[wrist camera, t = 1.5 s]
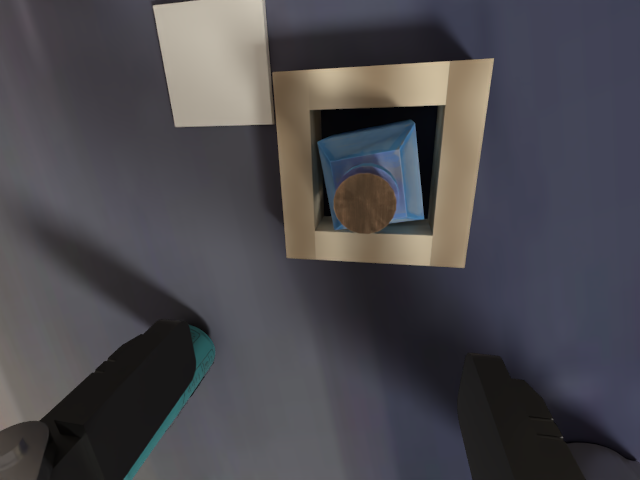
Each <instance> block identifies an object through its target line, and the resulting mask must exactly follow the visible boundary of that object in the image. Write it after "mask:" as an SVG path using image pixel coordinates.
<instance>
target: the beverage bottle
mask: <svg viewBox="0 0 640 480" xmlns="http://www.w3.org/2000/svg"><path fill="white" fill-rule="evenodd" d="M189 327H190V332H191V337H192V342H193V347H194V352H195V357H196V371H195V375H194V377H193V380H192V382H191V383H190V385H189V386H188V388H187V389H186V390H185V392H184V393H183V395H182V396H181V398H180V399H179V401H178V402H177V403H176V405H175V406H174V408H173V409H172V411H171V412H170V413H169V415H168V416H167V418H166V419H165V421H164V422H163V424H162V425H161V426H160V428H159V429H158V431H157V432H156V434H155V435H154V436H153V438H152V439H151V441H150V442H149V444H148V445H147V447H146V448H145V449H144V451H143V452H142V454H141V455H140V457H139V458H138V459H137V461H136V462H135V464H134V465H133V467H132V468H131V470H130V471H129V472H128V474H127V475H126V477H125V478H124V480H132V479H133V477H134V476H135V474H136V473H137V471H138V470H139V469H140V467H141V466H142V464H143V463H144V461H145V460H146V459H147V457H148V456H149V454H150V453H151V451H152V450H153V448H154V447H155V446H156V444H157V443H158V441H159V440H160V438H161V437H162V436H163V434H164V433H165V432H166V431H167V428H168V427H169V426H170V425H171V423H172V422H173V420H174V419H175V418H176V416H177V415H178V413H179V412H181V411H180V410H182V407H183V408H184V404H186V401H188V399H189V398H190V397H191V396H192V395H193V393H194V392H195V390H196V389H197V387H198V386H199V384H200V383H201V381H202V380H203V378H204V377H205V376H206V375H207V374H206V372H207V371H208V369H209V370H210V369H211V368H210V366H212V363H214V362H213V361H214V357H215V347H214V344H213V342H212V341H211V339H210V338H209V336H208V335H207V334H206V333H204V332H203V331H202V330H200V329H199V328H197V327H194V326H191V325H189ZM207 373H208V372H207ZM205 374H206V375H205ZM204 375H205V376H204ZM203 376H204V377H203ZM201 379H202V380H201ZM199 382H200V383H199ZM197 385H198V386H197ZM195 388H196V389H195ZM193 391H194V392H193ZM191 394H192V395H191ZM187 403H188V402H187ZM178 416H179V415H178ZM177 418H178V417H177ZM172 425H173V424H172Z"/></svg>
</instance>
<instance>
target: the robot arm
mask: <svg viewBox="0 0 640 480" xmlns="http://www.w3.org/2000/svg"><path fill="white" fill-rule="evenodd" d="M195 371H196V357H195V352H194V347H193V342H192V337H191V332H190V327H189V325H188V323H187V322H185V321H176V320H167V319H161V320H158V321H157V322H156V323H155V324H154V325H153V326H151V327H150V328H149V329H148V330H147V331H146V332H145V333H144V334H140V335H139V336H137V337H135V338H134V339H132V340H130V341H128V342H127V343H125V344H123V345H122V346H121V347H120V348H118V349H117V350H116V351H115V352H114V353H113V354H112V355H111V356H110V357H109V358H108V360H107V361H104V362H103V363H102V364H101V365H100V366H99V367H98V368H97V369H96V371H95V373H91V374H90V375H89V376H88V377H87V378H86V379H85V380H84V381H83V382H81V383H80V384H79V385H78V386H77V387H76V388H75V389H74V390H73V391H72V392H71V393H70V394H68V395H67V396H66V397H65V398H64V399H63V400H62V401H61V402H60V403H59V404H58V405H56V406H55V407H54V408H53V409H52V410H51V411H50V412H49V413H48V414H47V415H46V416H44V417H43V418H42V419H41V420H40V421H27V422H22V423H19V424H16V425H13V426H10V427H8V428H6V429H4V430H2V431H0V480H124V478H125V477H126V475H127V474H128V472H129V471H130V470H131V468H132V467H133V465H134V464H135V462H136V461H137V459H138V458H139V457H140V455H141V454H142V452H143V451H144V449H145V448H146V447H147V445H148V444H149V442H150V441H151V439H152V438H153V436H154V435H155V434H156V432H157V431H158V429H159V428H160V426H161V425H162V424H163V422H164V421H165V419H166V418H167V416H168V415H169V413H170V412H171V411H172V409H173V408H174V406H175V405H176V403H177V402H178V401H179V399H180V398H181V396H182V395H183V393H184V392H185V390H186V389H187V388H188V386H189V385H190V383H191V382H192V380H193V377H194V375H195ZM457 410H458V419H459V424H460V428H461V433H462V437H463V441H464V446H465V450H466V454H467V458H468V463H469V467H470V471H471V475H472V480H640V463H639V462H637V461H631V460H627V459H625V458H624V457H622V456H621V455H620V454H618V453H617V452H615V451H613V450H611V449H609V448H607V447H603V446H600V445H596V444H589V443H568V444H566V442H564V441H563V436H562V434H561V432H560V430H559V429H558V427H557V425H556V423H554V422H553V417H552V416H551V414H550V412H549V410H548V408H547V406H546V404H545V402H544V401H543V399H542V398H541V397H540V396H539V395H538V394H537V393H536V392H535V391H534V390H533V389H532V388H531V387H530V386H529V385H528V384H527V383H526V382H525V381H524V380H519V379H511V378H510V375H509V373H508V371H507V369H506V367H505V364H504V362H503V360H502V359H501V357H500V356H495V355H485V354H476V353H467V355H466V357H465V362H464V367H463V372H462V377H461V382H460V387H459V393H458V400H457Z"/></svg>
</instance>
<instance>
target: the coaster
mask: <svg viewBox="0 0 640 480" xmlns="http://www.w3.org/2000/svg"><path fill="white" fill-rule="evenodd" d="M153 9H154V15H155V20H156V26H157V31H158V36H159V42H160V47H161V53H162V58H163V63H164V69H165V74H166V80H167V85H168V90H169V96H170V101H171V106H172V112H173V117H174V123H175V127H197V126H232V125H267V124H275V121H274V108H273V96H272V83H271V71H270V58H269V46H268V33H267V21H266V8H265V0H197V1H188V2H179V3H170V4H161V5H153Z"/></svg>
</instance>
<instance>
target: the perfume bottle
mask: <svg viewBox="0 0 640 480" xmlns="http://www.w3.org/2000/svg"><path fill="white" fill-rule="evenodd" d="M317 143H318V148H319V154H320V159H321V164H322V169H323V174H324V179H325V185H326V190H327V195H328V200H329V205H330V211H331V216H332V221H333V226H334V230H339V229H349V230H350V231H353V232H356V233H359V234H371V233H374V232H378V231H380V230H381V229H383V228H384V227H386V226H387V225H388V224H389V223H397V222H405V221H414V220H422V219H424V212H423V201H422V191H421V180H420V170H419V159H418V149H417V138H416V128H415V122H413V121H412V120H411V119H409V120H404V121H399V122H394V123H389V124H384V125H379V126H374V127H369V128H364V129H359V130H353V131H348V132H343V133H338V134H333V135H331V136H329V137H327V138H324V139H322V140H320V141H318V142H317Z"/></svg>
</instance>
